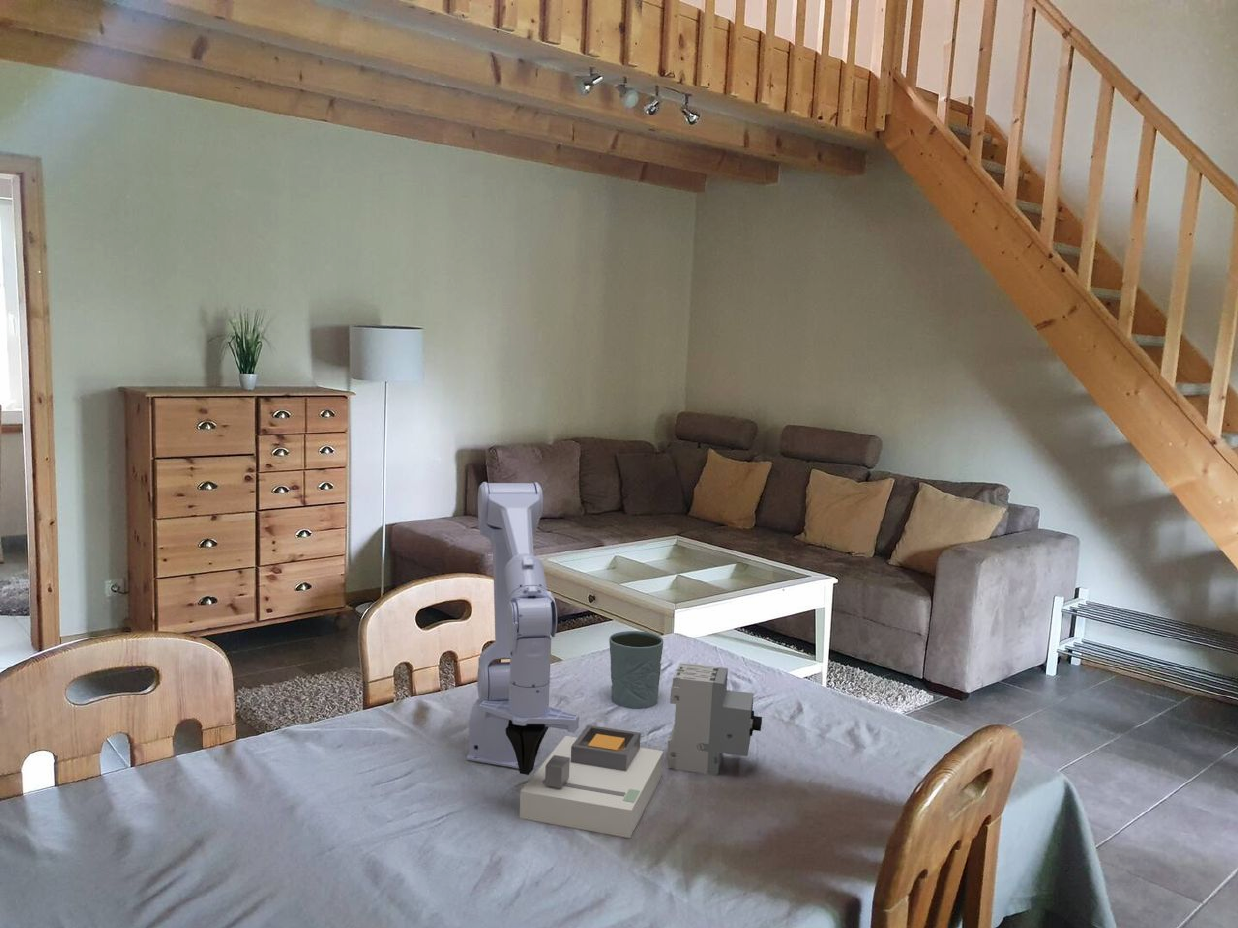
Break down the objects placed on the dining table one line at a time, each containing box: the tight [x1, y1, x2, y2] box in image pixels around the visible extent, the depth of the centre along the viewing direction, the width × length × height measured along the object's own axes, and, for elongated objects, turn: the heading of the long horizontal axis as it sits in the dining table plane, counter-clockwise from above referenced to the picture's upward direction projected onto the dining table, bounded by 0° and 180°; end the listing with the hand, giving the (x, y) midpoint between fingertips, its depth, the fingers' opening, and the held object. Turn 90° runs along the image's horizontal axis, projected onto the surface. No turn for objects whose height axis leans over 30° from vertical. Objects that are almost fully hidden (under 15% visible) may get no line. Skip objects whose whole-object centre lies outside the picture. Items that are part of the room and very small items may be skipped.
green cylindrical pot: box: [608, 630, 664, 710], centre depth 179 cm, size 10×10×12 cm
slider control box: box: [519, 724, 664, 839], centre depth 141 cm, size 16×20×6 cm
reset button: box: [588, 734, 625, 752], centre depth 146 cm, size 5×5×2 cm
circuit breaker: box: [666, 662, 763, 776], centre depth 153 cm, size 8×14×15 cm, turn 78°
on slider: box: [545, 755, 570, 788], centre depth 136 cm, size 2×4×3 cm, turn 165°
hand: (526, 771), depth 137 cm, fingers closed
